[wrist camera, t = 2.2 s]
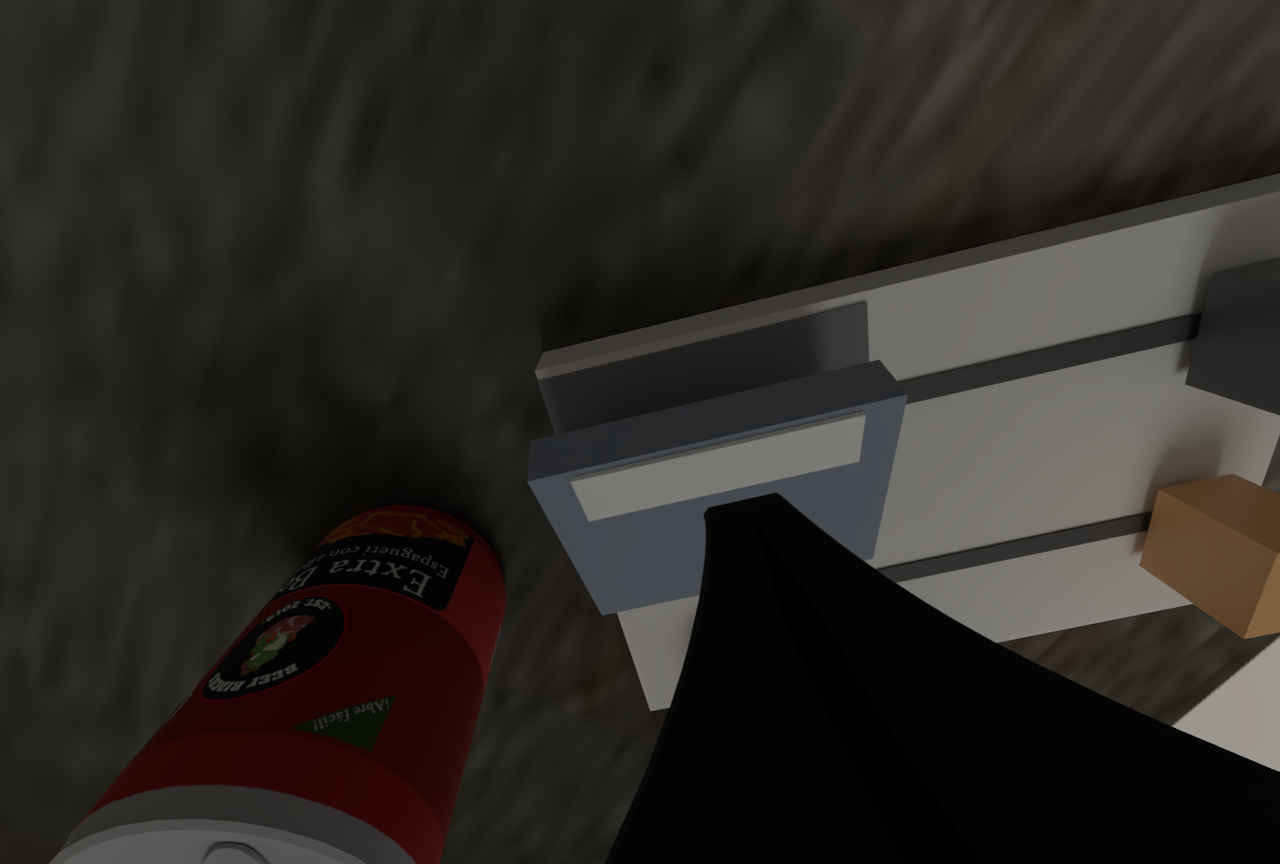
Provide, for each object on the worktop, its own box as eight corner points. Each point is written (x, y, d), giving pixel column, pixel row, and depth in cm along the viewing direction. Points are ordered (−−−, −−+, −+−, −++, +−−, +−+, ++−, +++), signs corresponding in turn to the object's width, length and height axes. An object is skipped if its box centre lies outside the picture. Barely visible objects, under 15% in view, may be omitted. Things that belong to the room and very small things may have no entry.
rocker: (854, 523, 17) (874, 562, 16) (599, 578, 18) (602, 619, 17) (879, 359, 12) (911, 398, 11) (530, 440, 13) (526, 486, 12)
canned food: (482, 484, 19) (338, 798, 9) (530, 636, 22) (463, 985, 13) (285, 512, 19) (-70, 851, 9) (362, 659, 23) (164, 1022, 13)
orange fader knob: (1207, 551, 19) (1330, 625, 16) (1139, 565, 19) (1247, 641, 16) (1232, 473, 17) (1374, 537, 14) (1158, 489, 18) (1282, 555, 14)
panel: (1172, 565, 22) (1273, 632, 19) (647, 672, 24) (653, 752, 20) (1285, 171, 16) (1475, 164, 12) (543, 352, 17) (524, 391, 14)
